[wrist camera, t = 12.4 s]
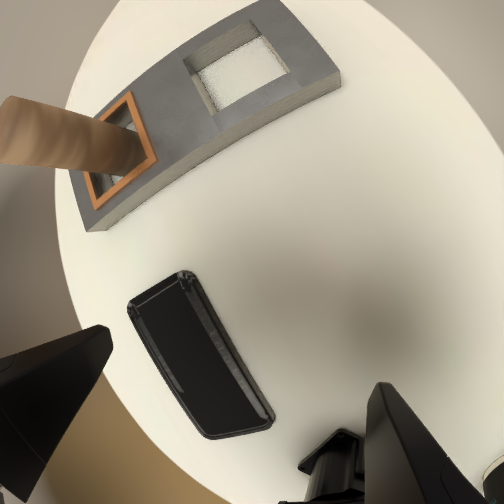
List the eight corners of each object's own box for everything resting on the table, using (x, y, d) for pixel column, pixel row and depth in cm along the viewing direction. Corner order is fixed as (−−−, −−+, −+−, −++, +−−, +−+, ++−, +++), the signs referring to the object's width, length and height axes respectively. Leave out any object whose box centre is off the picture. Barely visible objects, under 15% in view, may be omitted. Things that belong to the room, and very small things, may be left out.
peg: (144, 178, 23) (6, 161, 10) (111, 176, 24) (-15, 163, 12) (152, 132, 22) (22, 89, 10) (119, 133, 23) (-2, 102, 11)
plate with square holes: (280, 11, 18) (272, -9, 15) (341, 86, 17) (339, 68, 15) (81, 152, 25) (61, 149, 22) (105, 230, 25) (83, 232, 22)
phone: (185, 266, 22) (277, 427, 21) (192, 264, 23) (280, 419, 22) (122, 305, 24) (204, 441, 23) (130, 302, 25) (209, 435, 24)
